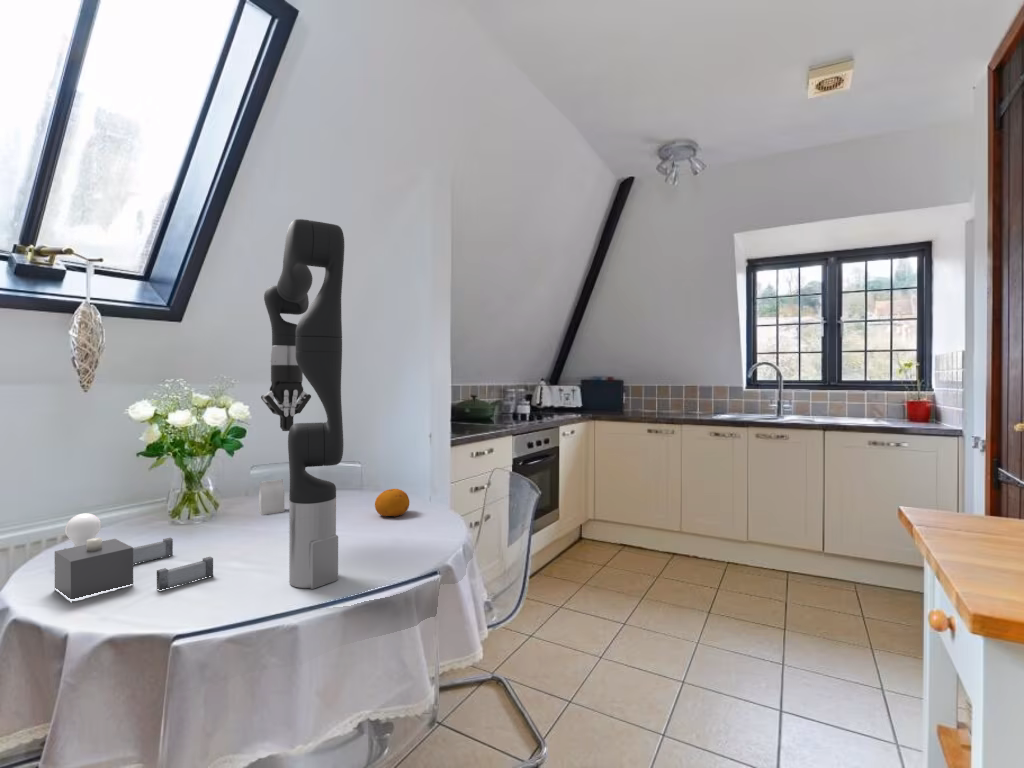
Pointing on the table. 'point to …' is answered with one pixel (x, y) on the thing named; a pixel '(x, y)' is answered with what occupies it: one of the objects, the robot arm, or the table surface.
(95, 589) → the plug block
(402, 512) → the fruit
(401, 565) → the table surface
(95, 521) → the lightbulb
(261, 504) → the grey rectangular block
